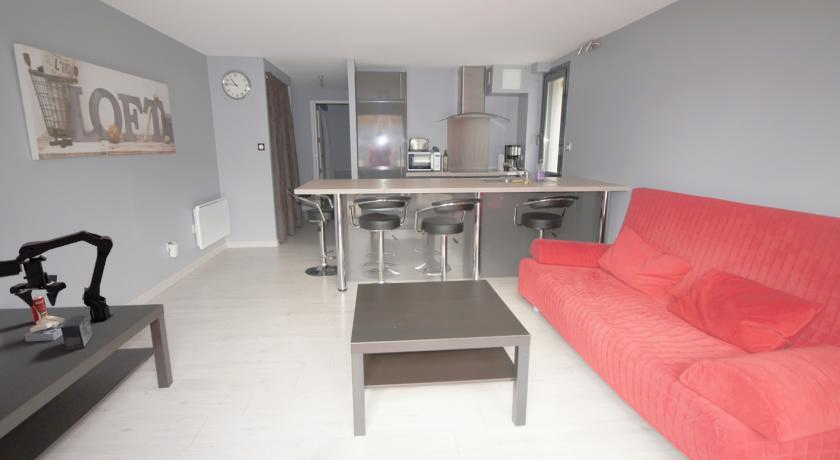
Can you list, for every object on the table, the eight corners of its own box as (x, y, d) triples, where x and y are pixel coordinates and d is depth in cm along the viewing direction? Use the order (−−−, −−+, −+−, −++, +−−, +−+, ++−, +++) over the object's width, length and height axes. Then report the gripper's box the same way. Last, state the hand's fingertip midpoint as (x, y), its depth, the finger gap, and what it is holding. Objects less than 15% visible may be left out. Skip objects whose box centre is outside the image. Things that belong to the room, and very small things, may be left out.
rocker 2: (58, 325, 176) (58, 321, 176) (54, 327, 174) (54, 324, 173) (40, 322, 175) (41, 318, 175) (36, 324, 173) (36, 321, 172)
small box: (75, 338, 172) (70, 315, 169) (94, 336, 174) (89, 313, 172) (64, 351, 162) (59, 327, 160) (84, 348, 165) (79, 324, 162)
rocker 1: (52, 325, 172) (50, 321, 172) (48, 328, 170) (46, 324, 169) (35, 329, 172) (34, 325, 172) (31, 332, 170) (29, 328, 169)
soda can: (31, 321, 187) (25, 297, 184) (45, 317, 191) (40, 293, 188) (36, 324, 184) (30, 299, 181) (51, 319, 189) (45, 295, 186)
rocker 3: (64, 321, 179) (64, 317, 179) (60, 323, 177) (60, 320, 177) (47, 318, 178) (47, 315, 178) (42, 321, 176) (43, 317, 176)
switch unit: (73, 327, 181) (71, 319, 180) (54, 340, 171) (52, 331, 170) (46, 328, 180) (44, 320, 179) (25, 341, 170) (23, 332, 169)
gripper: (72, 265, 181) (79, 298, 185) (27, 266, 179) (35, 299, 183) (52, 274, 170) (60, 308, 174) (4, 275, 169) (13, 310, 172)
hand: (42, 306), depth 176 cm, fingers open, 8 cm apart
